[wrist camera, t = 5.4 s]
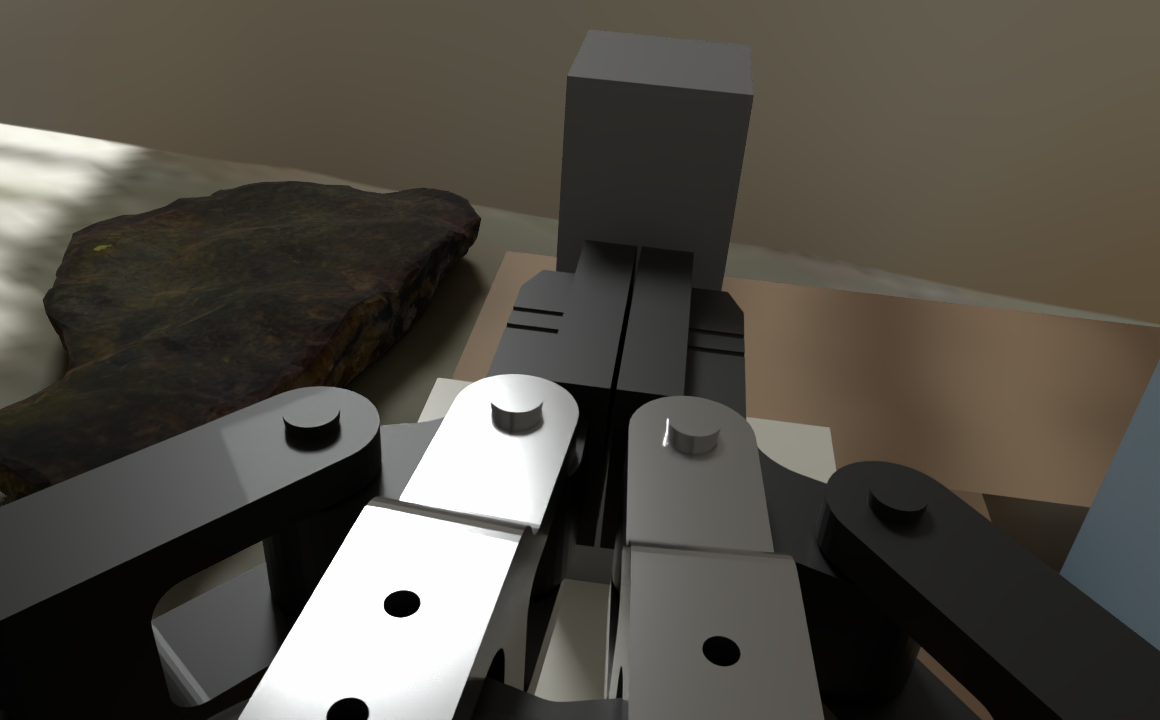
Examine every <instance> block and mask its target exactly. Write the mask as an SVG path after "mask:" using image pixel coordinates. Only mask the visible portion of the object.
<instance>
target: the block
mask: <svg viewBox="0 0 1160 720" xmlns="http://www.w3.org/2000/svg"><path fill="white" fill-rule="evenodd" d="M1060 575H1061V576H1063V577H1064V578H1065V579H1066V580H1068V581H1069V582H1070V583H1072V584H1073V585H1074V586H1076V587H1077V588H1078V589H1079V590H1081V591H1082V592H1083V593H1085V594H1086V595H1087V596H1089V597H1090V598H1091V599H1093V600H1094V601H1095V602H1096V603H1098V604H1099V605H1100V606H1102V607H1103V608H1104V609H1106V610H1107V611H1108V612H1110V613H1111V614H1112V615H1113V616H1115V617H1116V618H1117V619H1119V620H1120V621H1121V622H1123V623H1124V624H1125V625H1127V626H1128V627H1129V628H1130V629H1132V630H1133V631H1134V632H1136V633H1137V634H1138V635H1140V636H1141V637H1142V638H1144V639H1145V640H1146V641H1147V642H1149V643H1150V644H1151V645H1153V646H1154V647H1155V648H1157V649H1158V650H1159V651H1160V360H1159V362H1158V364H1157V366H1156V368H1155V370H1154V373H1153V375H1152V377H1151V379H1150V381H1149V383H1148V385H1147V388H1146V390H1145V392H1144V394H1143V396H1142V398H1141V400H1140V403H1139V405H1138V407H1137V409H1136V411H1135V413H1134V415H1133V417H1132V420H1131V422H1130V424H1129V426H1128V428H1127V430H1126V432H1125V435H1124V437H1123V439H1122V441H1121V443H1120V445H1119V447H1118V450H1117V452H1116V454H1115V456H1114V458H1113V460H1112V462H1111V465H1110V467H1109V469H1108V471H1107V473H1106V475H1105V477H1104V479H1103V482H1102V484H1101V486H1100V488H1099V490H1098V492H1097V494H1096V497H1095V499H1094V501H1093V503H1092V505H1091V507H1090V509H1089V512H1088V514H1087V516H1086V518H1085V520H1084V522H1083V524H1082V526H1081V529H1080V531H1079V533H1078V535H1077V537H1076V539H1075V541H1074V544H1073V546H1072V548H1071V550H1070V552H1069V554H1068V556H1067V559H1066V561H1065V563H1064V565H1063V567H1062V569H1061V571H1060Z"/></svg>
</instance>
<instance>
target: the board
mask: <svg viewBox="0 0 1160 720" xmlns="http://www.w3.org/2000/svg"><path fill="white" fill-rule="evenodd" d="M556 261H557V257H552V256H544V255H535V254H527V253H518V252H510V251H507V252H506V254H505V257H504V259H503V261H502V263H501V266H500V268H499V270H498V273H497V275H496V277H495V280H494V282H493V284H492V287H491V289H490V291H489V293H488V296H487V298H486V300H485V303H484V305H483V307H482V310H481V312H480V314H479V317H478V319H477V321H476V324H475V326H474V328H473V330H472V333H471V335H470V337H469V340H468V342H467V344H466V347H465V349H464V351H463V354H462V356H461V358H460V361H459V363H458V365H457V367H456V370H455V372H454V374H453V377H452V380H460V381H468V382H477V381H479V380H481V379H485V378H486V376H487V374H488V371H489V368H490V366H491V363H492V361H493V358H494V355H495V353H496V350H497V348H498V345H499V342H500V340H501V337H502V335H503V332H504V329H505V327H507V322H508V319H509V316H510V314H511V311H512V310H513V306H514V303H515V301H516V298H517V296H518V293H519V290H520V288H521V286H522V285H523V284H524V283H526V282H527V281H529V280H530V279H531V278H533V277H534V276H535V275H537V274H538V273H539V272H541V271H542V270H550V271H556ZM721 291H725V292H728V293H729V294H730V295H731V296H732V298H733V299H734V300H735V302H736V303H737V304H738V306H739V307H740V308H741V310H742V311H743V312H744V339H745V355H744V357H745V382H746V417H751V418H758V419H766V420H774V421H782V422H790V423H798V424H806V425H813V426H821V427H829V428H830V432H831V439H832V446H833V452H834V459H835V465H836V471H837V470H838V469H840V468H842V467H844V466H846V465H848V464H852V463H855V462H862V461H883V462H891V463H895V464H900V465H903V466H907V467H910V468H913V469H915V470H918V471H920V472H922V473H924V474H926V475H928V476H930V477H932V478H933V479H935V480H936V481H938V482H939V483H941V484H942V485H944V486H945V487H946V488H948V489H949V490H950V491H951V492H953V493H954V494H955V495H957V496H958V497H959V498H961V499H962V500H963V501H965V502H966V503H967V504H968V505H970V506H971V507H972V508H974V509H975V510H976V511H978V512H979V513H980V514H982V515H983V516H984V517H985V518H987V519H988V520H989V521H991V522H992V523H993V524H995V525H996V526H997V527H998V528H1000V529H1001V530H1002V531H1004V532H1005V533H1006V534H1008V535H1009V536H1010V537H1012V538H1013V539H1014V540H1015V541H1017V542H1018V543H1019V544H1021V545H1022V546H1023V547H1025V548H1026V549H1027V550H1029V551H1030V552H1031V553H1032V554H1034V555H1035V556H1036V557H1038V558H1039V559H1040V560H1042V561H1043V562H1044V563H1046V564H1047V565H1048V566H1049V567H1051V568H1052V569H1053V570H1055V571H1056V572H1057V573H1059V574H1060V571H1061V569H1062V567H1063V565H1064V563H1065V561H1066V559H1067V556H1068V554H1069V552H1070V550H1071V548H1072V546H1073V544H1074V541H1075V539H1076V537H1077V535H1078V533H1079V531H1080V529H1081V526H1082V524H1083V522H1084V520H1085V518H1086V516H1087V514H1088V512H1089V509H1090V507H1091V505H1092V503H1093V501H1094V499H1095V497H1096V494H1097V492H1098V490H1099V488H1100V486H1101V484H1102V482H1103V479H1104V477H1105V475H1106V473H1107V471H1108V469H1109V467H1110V465H1111V462H1112V460H1113V458H1114V456H1115V454H1116V452H1117V450H1118V447H1119V445H1120V443H1121V441H1122V439H1123V437H1124V435H1125V432H1126V430H1127V428H1128V426H1129V424H1130V422H1131V420H1132V417H1133V415H1134V413H1135V411H1136V409H1137V407H1138V405H1139V403H1140V400H1141V398H1142V396H1143V394H1144V392H1145V390H1146V388H1147V385H1148V383H1149V381H1150V379H1151V377H1152V375H1153V373H1154V370H1155V368H1156V366H1157V364H1158V362H1159V360H1160V328H1159V327H1150V326H1142V325H1133V324H1125V323H1116V322H1108V321H1099V320H1091V319H1082V318H1073V317H1065V316H1056V315H1048V314H1039V313H1031V312H1022V311H1014V310H1005V309H997V308H988V307H979V306H971V305H962V304H954V303H945V302H937V301H928V300H920V299H911V298H903V297H894V296H885V295H877V294H868V293H860V292H851V291H843V290H834V289H826V288H817V287H809V286H800V285H791V284H783V283H774V282H766V281H757V280H749V279H740V278H732V277H724V278H723V284H722V290H721ZM917 658H918V659H919V660H920V661H921V662H922V663H923V664H924V665H925V666H926V667H927V668H928V669H929V670H930V671H931V672H932V673H933V674H934V675H935V676H936V677H938V678H939V679H940V680H941V681H942V682H943V683H944V684H945V685H946V686H947V687H948V688H949V689H950V690H951V691H952V692H953V693H954V694H955V695H956V696H957V697H959V698H960V699H961V700H962V701H963V702H964V703H965V704H966V705H967V706H968V707H969V708H970V709H971V710H972V711H973V712H974V713H975V714H976V715H977V716H978V717H980V718H981V719H982V720H994V719H993V718H992V716H991V715H990V713H989V712H988V711H987V709H986V708H985V707H984V706H983V705H982V704H981V703H980V702H979V700H977V699H976V698H975V697H974V696H973V695H972V694H971V693H970V692H969V691H968V690H967V689H966V688H965V687H964V686H962V685H961V684H960V683H959V682H958V681H957V680H956V679H955V678H954V677H953V676H952V675H951V674H950V673H949V672H948V671H946V670H945V669H944V668H943V667H942V666H941V665H940V664H939V663H938V662H937V661H936V660H935V659H934V658H933V657H932V656H930V655H929V654H928V653H927V652H926V651H925V650H924V649H923V648H922V647H921V648H920V651H919V653H918V656H917Z"/></svg>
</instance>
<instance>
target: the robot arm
mask: <svg viewBox="0 0 1160 720" xmlns="http://www.w3.org/2000/svg"><path fill="white" fill-rule="evenodd" d="M636 258H637V246H635V245H626V244H618V243H609V242H601V241H592V240H585V242H584V245H583V248H582V252H581V255H580V259H579V262H578V265H577V269H576V272H575V273H566V272H558V271H550V270H542V271H541V272H539V273H538V274H537V275H535V276H534V277H533V278H531V279H530V280H529V281H527V282H526V283H524V284H523V285H522V286H521V288H520V290H519V293H518V296H517V298H516V301H515V303H514V306H513V310H512V311H511V314H510V316H509V319H508V322H507V327H505V329H504V332H503V335H502V337H501V340H500V342H499V345H498V348H497V350H496V353H495V355H494V358H493V361H492V363H491V366H490V368H489V371H488V374H487V376H486V378H485V379H481V380H479V381H477V382H475V383H473V384H471V385H469V386H468V387H466V388H465V389H464V390H463V391H462V392H460V394H459V395H458V396H457V398H456V399H455V401H454V403H453V405H452V406H451V408H450V410H449V412H448V414H447V415H446V417H443V418H440V419H436V420H431V421H427V422H419V423H408V424H395V425H382V426H380V418H379V414H378V411H377V409H376V408H375V406H374V405H373V404H372V403H371V402H370V401H369V400H368V399H366V398H365V397H363V396H362V395H360V394H358V393H355V392H353V391H350V390H346V389H342V388H336V387H325V386H318V387H306V388H299V389H295V390H290V391H287V392H284V393H281V394H278V395H276V396H273V397H271V398H268V399H266V400H263V401H261V402H258V403H256V404H253V405H251V406H249V407H246V408H244V409H241V410H239V411H236V412H234V413H231V414H229V415H226V416H224V417H221V418H219V419H216V420H214V421H211V422H209V423H207V424H204V425H202V426H199V427H197V428H194V429H192V430H189V431H187V432H184V433H182V434H179V435H177V436H174V437H172V438H169V439H167V440H165V441H162V442H160V443H157V444H155V445H152V446H150V447H147V448H145V449H142V450H140V451H137V452H135V453H132V454H130V455H127V456H125V457H123V458H120V459H118V460H115V461H113V462H110V463H108V464H105V465H103V466H100V467H98V468H95V469H93V470H90V471H88V472H85V473H83V474H81V475H78V476H76V477H73V478H71V479H68V480H66V481H63V482H61V483H58V484H56V485H53V486H51V487H48V488H46V489H43V490H41V491H38V492H36V493H34V494H31V495H29V496H26V497H24V498H21V499H19V500H16V501H14V502H11V503H9V504H6V505H4V506H1V507H0V720H982V719H981V718H980V717H978V716H977V715H976V714H975V713H974V712H973V711H972V710H971V709H970V708H969V707H968V706H967V705H966V704H965V703H964V702H963V701H962V700H961V699H960V698H959V697H957V696H956V695H955V694H954V693H953V692H952V691H951V690H950V689H949V688H948V687H947V686H946V685H945V684H944V683H943V682H942V681H941V680H940V679H939V678H938V677H936V676H935V675H934V674H933V673H932V672H931V671H930V670H929V669H928V668H927V667H926V666H925V665H924V664H923V663H922V662H921V661H920V660H919V659H918V658H917V656H918V653H919V651H920V648H921V647H922V648H923V649H924V650H925V651H926V652H927V653H928V654H929V655H930V656H932V657H933V658H934V659H935V660H936V661H937V662H938V663H939V664H940V665H941V666H942V667H943V668H944V669H945V670H946V671H948V672H949V673H950V674H951V675H952V676H953V677H954V678H955V679H956V680H957V681H958V682H959V683H960V684H961V685H962V686H964V687H965V688H966V689H967V690H968V691H969V692H970V693H971V694H972V695H973V696H974V697H975V698H976V699H977V700H979V702H980V703H981V704H982V705H983V706H984V707H985V708H986V709H987V711H988V712H989V713H990V715H991V716H992V718H993V719H994V720H1160V651H1159V650H1158V649H1157V648H1155V647H1154V646H1153V645H1151V644H1150V643H1149V642H1147V641H1146V640H1145V639H1144V638H1142V637H1141V636H1140V635H1138V634H1137V633H1136V632H1134V631H1133V630H1132V629H1130V628H1129V627H1128V626H1127V625H1125V624H1124V623H1123V622H1121V621H1120V620H1119V619H1117V618H1116V617H1115V616H1113V615H1112V614H1111V613H1110V612H1108V611H1107V610H1106V609H1104V608H1103V607H1102V606H1100V605H1099V604H1098V603H1096V602H1095V601H1094V600H1093V599H1091V598H1090V597H1089V596H1087V595H1086V594H1085V593H1083V592H1082V591H1081V590H1079V589H1078V588H1077V587H1076V586H1074V585H1073V584H1072V583H1070V582H1069V581H1068V580H1066V579H1065V578H1064V577H1063V576H1061V575H1060V574H1059V573H1057V572H1056V571H1055V570H1053V569H1052V568H1051V567H1049V566H1048V565H1047V564H1046V563H1044V562H1043V561H1042V560H1040V559H1039V558H1038V557H1036V556H1035V555H1034V554H1032V553H1031V552H1030V551H1029V550H1027V549H1026V548H1025V547H1023V546H1022V545H1021V544H1019V543H1018V542H1017V541H1015V540H1014V539H1013V538H1012V537H1010V536H1009V535H1008V534H1006V533H1005V532H1004V531H1002V530H1001V529H1000V528H998V527H997V526H996V525H995V524H993V523H992V522H991V521H989V520H988V519H987V518H985V517H984V516H983V515H982V514H980V513H979V512H978V511H976V510H975V509H974V508H972V507H971V506H970V505H968V504H967V503H966V502H965V501H963V500H962V499H961V498H959V497H958V496H957V495H955V494H954V493H953V492H951V491H950V490H949V489H948V488H946V487H945V486H944V485H942V484H941V483H939V482H938V481H936V480H935V479H933V478H932V477H930V476H928V475H926V474H924V473H922V472H920V471H918V470H915V469H913V468H910V467H907V466H903V465H900V464H895V463H891V462H883V461H862V462H855V463H852V464H848V465H846V466H844V467H842V468H840V469H838V470H837V471H836V472H834V473H833V474H832V475H831V477H830V478H829V479H828V482H827V483H824V482H821V481H818V480H815V479H813V478H810V477H807V476H804V475H801V474H799V473H796V472H794V471H792V470H789V469H787V468H785V467H783V466H782V465H780V464H778V463H776V462H775V461H773V460H772V459H770V458H769V457H768V456H767V455H766V454H764V453H763V452H762V451H761V450H760V449H759V448H758V447H757V441H756V436H755V433H754V431H753V429H752V427H751V425H750V424H749V423H748V422H747V421H746V382H745V357H744V355H745V339H744V312H743V311H742V310H741V308H740V307H739V306H738V304H737V303H736V302H735V300H734V299H733V298H732V296H731V295H730V294H729V293H728V292H725V291H717V290H708V289H700V288H692V273H693V259H694V252H687V251H678V250H670V249H662V248H653V247H645V246H642V248H641V253H640V259H639V265H638V270H637V276H636V282H635V287H634V293H633V286H634V276H635V267H636ZM632 295H633V299H632ZM608 463H609V465H608ZM607 469H608V475H607ZM606 475H607V484H606V494H605V503H604V513H603V522H602V531H601V541H600V548H606V549H613V550H614V557H613V566H612V575H611V583H610V592H609V600H608V616H607V640H606V664H605V688H604V699H599V700H584V701H570V702H555V701H549V700H546V699H543V698H540V697H537V696H535V695H534V694H535V691H536V688H537V684H538V681H539V678H540V674H541V671H542V668H543V664H544V661H545V658H546V654H547V651H548V648H549V644H550V641H551V638H552V634H553V631H554V628H555V624H556V621H557V618H558V614H559V611H560V608H561V604H562V601H563V597H564V592H565V580H566V576H567V575H568V573H569V571H570V569H571V566H572V562H573V557H574V552H575V547H576V545H583V546H590V547H594V545H595V540H596V534H597V528H598V522H599V516H600V510H601V504H602V498H603V492H604V487H605V481H606ZM260 541H263V547H264V554H265V560H266V561H265V562H263V563H261V564H259V565H257V566H256V567H254V568H252V569H250V570H248V571H246V572H244V573H242V574H240V575H238V576H236V577H234V578H232V579H230V580H228V581H227V582H225V583H223V584H221V585H219V586H217V587H215V588H213V589H211V590H209V591H207V592H205V593H203V594H201V595H199V596H198V597H196V598H194V599H192V600H190V601H188V602H186V603H184V604H182V605H180V606H178V607H176V608H174V609H172V610H170V611H169V612H167V613H165V614H163V615H161V616H159V617H157V618H155V619H153V620H152V614H153V611H154V609H155V607H156V605H157V603H158V602H159V600H160V599H161V598H162V596H163V595H164V594H165V593H166V592H167V591H168V590H169V589H170V588H172V587H173V586H174V585H176V584H177V583H179V582H180V581H182V580H184V579H186V578H188V577H190V576H192V575H194V574H196V573H198V572H200V571H202V570H204V569H206V568H208V567H210V566H212V565H214V564H216V563H218V562H220V561H222V560H224V559H226V558H228V557H230V556H232V555H234V554H236V553H238V552H240V551H242V550H244V549H246V548H248V547H250V546H252V545H254V544H256V543H258V542H260Z"/></svg>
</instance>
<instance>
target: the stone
mask: <svg viewBox="0 0 1160 720" xmlns="http://www.w3.org/2000/svg"><path fill="white" fill-rule="evenodd" d="M480 222H481V218H480V217H479V215H478V214H477V213H476V212H475V210H474V208H473V207H472V206H471V205H470V203H469V201H468V200H466V199H464V198H463V197H461V196H459V195H456V194H454V193H451V192H449V191H442V190H437V189H427V188H418V189H410V190H402V191H399V192H394V193H386V194H381V193H374V192H366V191H361V190H357V189H354V188H352V187H350V186H345V185H323V184H317V183H311V182H299V181H284V182H260V183H253V184H248V185H243V186H240V187H237V188H234V189H228V190H219V191H217V192H215V193H213V194H211V196H207V197H195V198H181V199H177V200H176V201H174V202H172V203H170V204H169V205H167V206H165V207H162V208H159V209H155V210H152V211H149V212H145V213H141V214H137V215H122V216H118V217H115V218H111V219H108V220H104V221H100V222H98V223H95V224H92V225H90V226H88V227H86V228H84V229H82V230H80V231H77V232H75V233H73V235H72V239H71V241H70V243H69V245H68V247H67V250H66V252H65V254H64V257H63V261H62V264H61V265H60V267H59V268H58V270H57V272H56V277H57V278H56V280H55V282H54V285H53V288H51V289H49V290H48V292H47V293H46V295H45V297H44V299H43V303H44V307H45V311H46V314H47V316H48V318H49V320H50V322H51V324H52V326H53V328H54V329H55V331H56V333H57V334H58V335H59V337H60V340H61V342H62V345H63V348H64V349H65V350H66V351H67V353H68V369H67V370H68V372H67V373H66V374H65V376H64V377H63V378H62V380H60V381H58V382H57V383H55V384H53V385H51V386H49V387H47V388H45V389H44V390H42V391H40V392H38V393H36V394H34V395H32V396H30V397H29V398H27V399H25V400H22V401H19V402H17V403H14V404H12V405H9V406H7V407H5V408H3V409H1V410H0V491H1V492H2V493H4V494H5V495H7V496H8V497H9V498H11V499H12V500H13V501H16V500H19V499H21V498H24V497H26V496H29V495H31V494H34V493H36V492H38V491H41V490H43V489H46V488H48V487H51V486H53V485H56V484H58V483H61V482H63V481H66V480H68V479H71V478H73V477H76V476H78V475H81V474H83V473H85V472H88V471H90V470H93V469H95V468H98V467H100V466H103V465H105V464H108V463H110V462H113V461H115V460H118V459H120V458H123V457H125V456H127V455H130V454H132V453H135V452H137V451H140V450H142V449H145V448H147V447H150V446H152V445H155V444H157V443H160V442H162V441H165V440H167V439H169V438H172V437H174V436H177V435H179V434H182V433H184V432H187V431H189V430H192V429H194V428H197V427H199V426H202V425H204V424H207V423H209V422H211V421H214V420H216V419H219V418H221V417H224V416H226V415H229V414H231V413H234V412H236V411H239V410H241V409H244V408H246V407H249V406H251V405H253V404H256V403H258V402H261V401H263V400H266V399H268V398H271V397H273V396H276V395H278V394H281V393H284V392H287V391H290V390H295V389H299V388H306V387H318V386H325V387H336V388H342V389H344V388H345V387H346V386H347V385H348V383H349V382H350V381H352V380H353V379H354V378H355V377H357V376H358V375H359V374H360V373H361V372H362V371H363V370H364V369H366V368H367V367H368V366H369V365H370V364H371V363H373V362H374V361H375V360H377V359H378V358H379V357H381V356H382V355H383V354H384V353H385V352H387V351H388V350H389V349H390V348H391V347H392V346H393V345H394V344H395V343H396V342H397V341H398V340H399V339H400V338H401V337H402V336H403V335H405V334H406V333H407V332H408V331H409V330H410V329H411V328H412V326H413V325H414V324H415V323H416V322H417V320H418V319H419V318H420V317H421V316H422V315H423V312H424V310H425V308H426V306H427V305H428V304H429V302H430V301H431V299H432V298H433V296H434V293H435V290H436V287H437V284H438V283H439V282H440V281H441V280H442V278H443V277H444V276H445V274H446V273H447V272H448V270H449V269H450V267H451V266H452V264H454V263H455V262H457V261H458V260H460V259H461V258H462V257H463V256H465V255H466V254H467V252H468V249H469V247H471V246H472V245H473V244H474V242H475V240H476V239H477V236H478V231H479V227H480Z"/></svg>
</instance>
